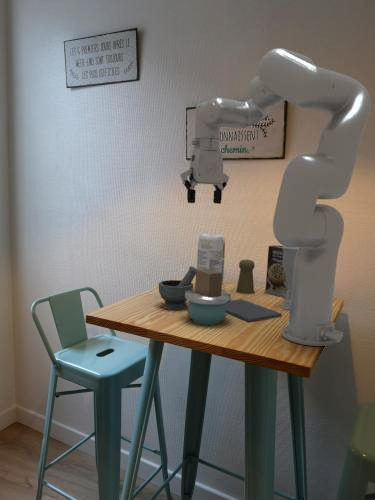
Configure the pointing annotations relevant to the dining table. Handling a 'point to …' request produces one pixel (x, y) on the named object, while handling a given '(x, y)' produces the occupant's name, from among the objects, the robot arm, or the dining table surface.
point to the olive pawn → (246, 277)
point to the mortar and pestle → (177, 290)
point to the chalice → (288, 270)
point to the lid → (208, 289)
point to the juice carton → (211, 253)
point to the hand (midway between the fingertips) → (204, 203)
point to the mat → (250, 311)
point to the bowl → (206, 313)
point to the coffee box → (276, 273)
